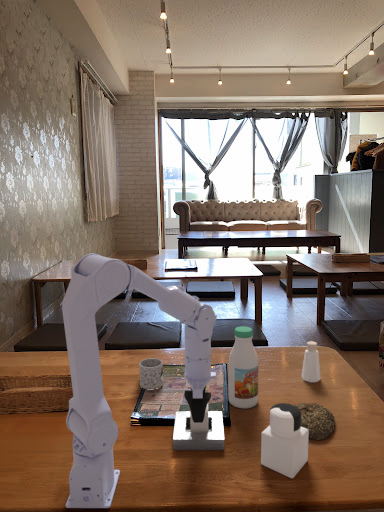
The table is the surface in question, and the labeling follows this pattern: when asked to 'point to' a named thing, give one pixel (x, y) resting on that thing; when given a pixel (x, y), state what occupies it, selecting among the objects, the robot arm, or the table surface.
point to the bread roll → (316, 420)
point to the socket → (198, 433)
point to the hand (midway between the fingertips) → (198, 412)
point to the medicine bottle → (284, 441)
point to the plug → (199, 426)
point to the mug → (151, 373)
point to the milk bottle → (243, 370)
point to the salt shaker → (311, 363)
